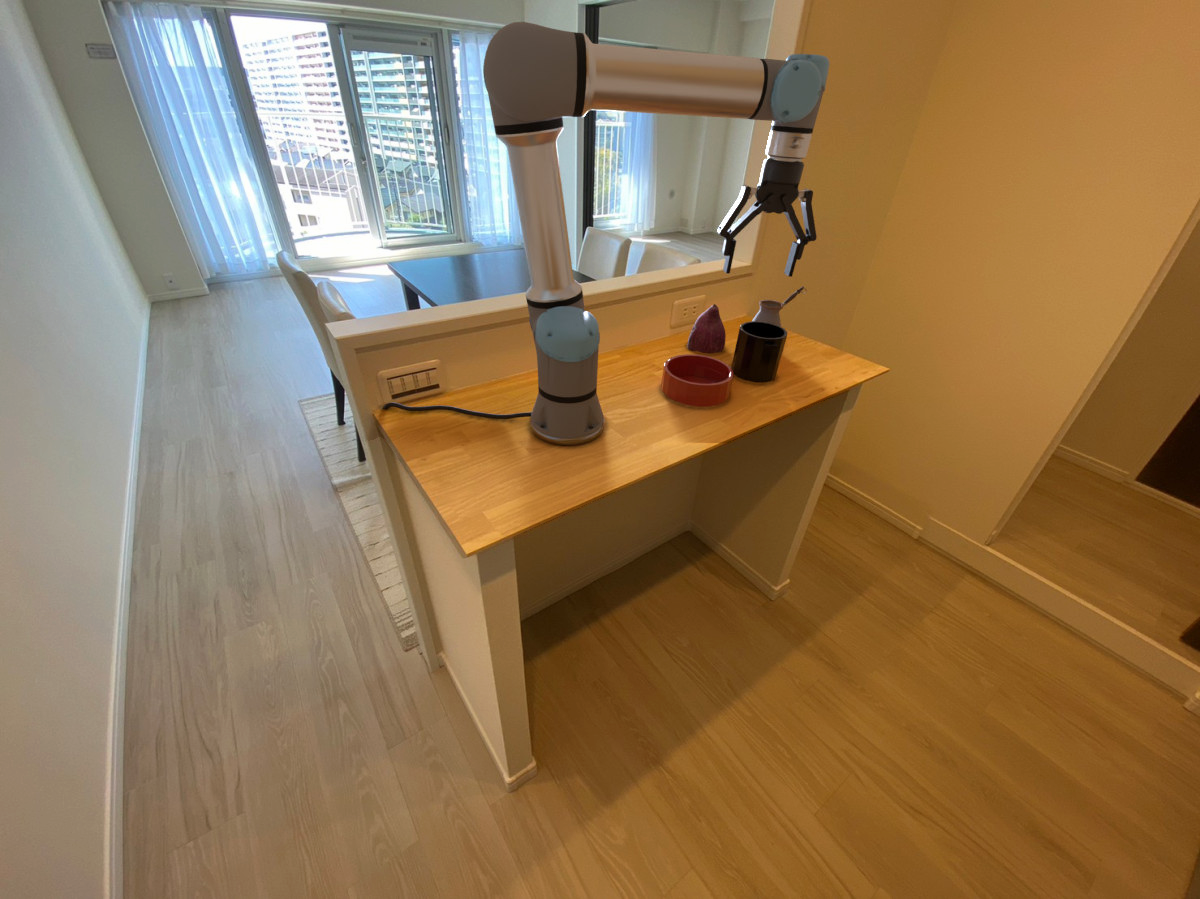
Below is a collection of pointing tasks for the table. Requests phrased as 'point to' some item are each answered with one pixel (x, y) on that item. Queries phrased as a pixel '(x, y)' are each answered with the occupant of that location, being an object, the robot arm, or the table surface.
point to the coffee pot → (773, 309)
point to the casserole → (696, 380)
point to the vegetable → (708, 332)
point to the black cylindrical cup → (758, 351)
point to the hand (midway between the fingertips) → (757, 273)
